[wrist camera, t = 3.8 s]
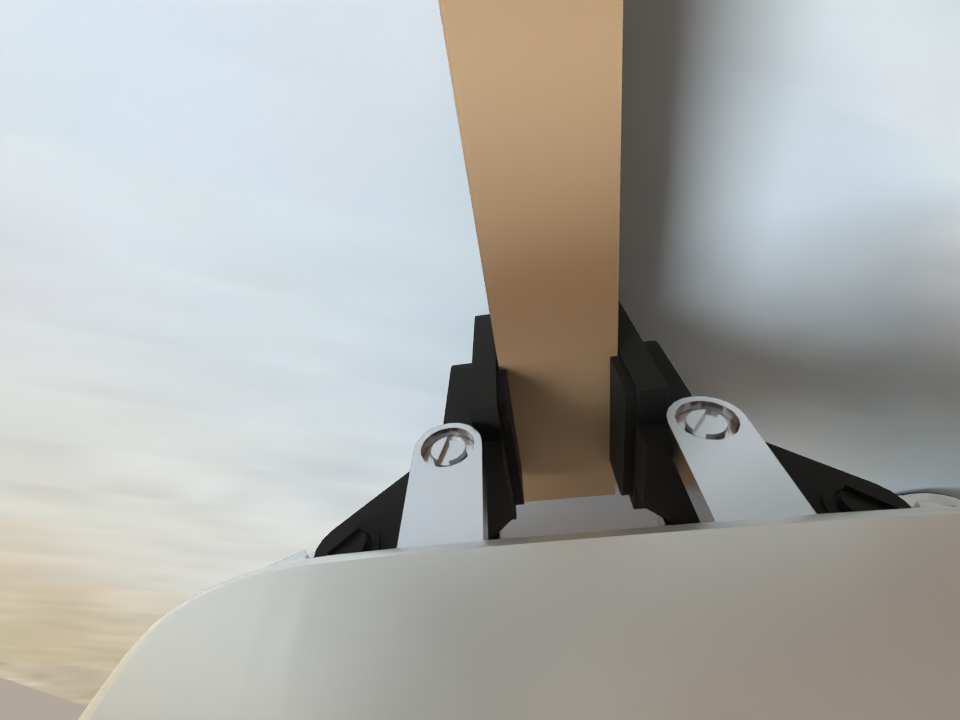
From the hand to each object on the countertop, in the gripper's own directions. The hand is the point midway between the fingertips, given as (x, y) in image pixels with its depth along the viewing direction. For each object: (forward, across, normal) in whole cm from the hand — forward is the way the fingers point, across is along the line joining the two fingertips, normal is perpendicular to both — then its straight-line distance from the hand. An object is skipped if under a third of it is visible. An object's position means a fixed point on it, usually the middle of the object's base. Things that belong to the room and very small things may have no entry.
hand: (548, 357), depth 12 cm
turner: (0, 0, 0) cm, 1 cm away
